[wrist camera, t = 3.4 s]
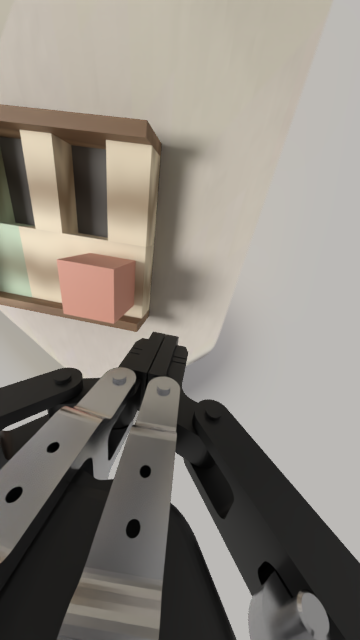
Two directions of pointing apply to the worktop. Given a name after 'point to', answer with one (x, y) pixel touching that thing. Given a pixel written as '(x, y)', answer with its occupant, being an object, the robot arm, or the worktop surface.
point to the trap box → (74, 202)
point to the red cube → (96, 286)
